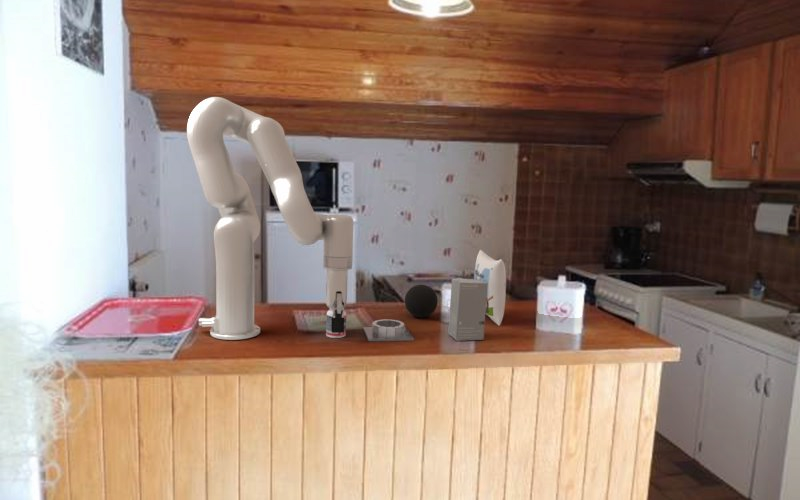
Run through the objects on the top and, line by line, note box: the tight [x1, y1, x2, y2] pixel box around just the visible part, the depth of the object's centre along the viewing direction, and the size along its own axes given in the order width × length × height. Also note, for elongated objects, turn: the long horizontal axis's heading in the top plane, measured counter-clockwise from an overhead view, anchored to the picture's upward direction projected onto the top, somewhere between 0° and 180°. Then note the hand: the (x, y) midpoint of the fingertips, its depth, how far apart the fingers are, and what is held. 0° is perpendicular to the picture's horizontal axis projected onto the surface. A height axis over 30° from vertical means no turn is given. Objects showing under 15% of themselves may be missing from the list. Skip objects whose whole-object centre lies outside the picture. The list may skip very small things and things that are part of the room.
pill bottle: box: [325, 304, 347, 339], centre depth 150 cm, size 5×5×9 cm
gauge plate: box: [362, 318, 415, 342], centre depth 153 cm, size 12×11×3 cm
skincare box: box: [447, 278, 488, 342], centre depth 153 cm, size 8×7×16 cm
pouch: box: [473, 249, 507, 327], centre depth 174 cm, size 8×19×20 cm, turn 7°
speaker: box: [404, 284, 439, 318], centre depth 173 cm, size 10×10×10 cm
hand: (336, 327), depth 151 cm, fingers open, 7 cm apart
